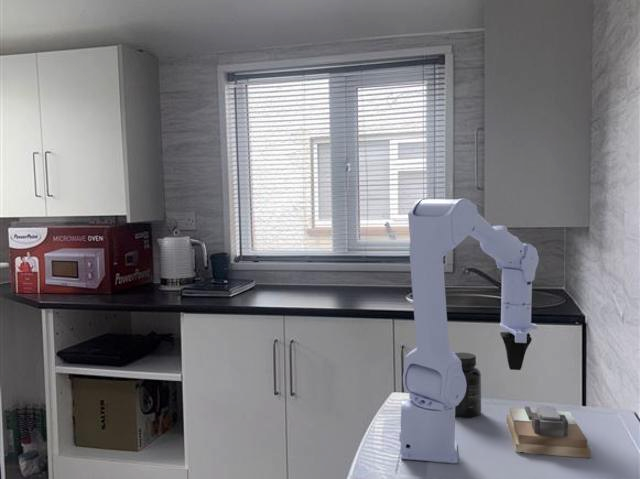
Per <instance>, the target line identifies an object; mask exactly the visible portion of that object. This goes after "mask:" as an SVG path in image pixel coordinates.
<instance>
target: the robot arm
mask: <svg viewBox="0 0 640 479" xmlns="http://www.w3.org/2000/svg"><path fill="white" fill-rule="evenodd" d="M407 216H408V218H407V220H408V230H409V248H408V249H409V252H408V253H409V265H410V266H409V267H410V277H411V290H412V291H411V292H412V301H413V303H412V304H413V317H414V330H415V331H414V332H415V342H416V344H415V345H416V347H415V348H414V349H411V351H409V353H407V354H406V355H405V357H404V362H405V363H404V364H405V365H404V369H403V370H404V371H403V374H402V384H403V387H404V389H405V391H406V392H407V393H408V394H409V399H402V400H401V404H400V406H401V407H400V430H399V437H398V438H399V443H400V459H402V460H413V461H425V462H436V463H447V464H458V462H459V458H458V457H459V456H458V445H457V444H458V443H457V441H456V417H455V406H457V405H459V403H460V402H461V401H462V399H463V398H464V396H465V393H466V387H467V384H466V378H465V375H464V373H463V371H462V365H461V360H460V359H459V358H458V357H457V355H456V354H455V353H456V352H454V351H453V350H452V349H451V347H450V346H449V344H450V342H449V328H448V314H447V299H446V298H447V296H446V285H445V284H446V283H445V282H446V281H445V268H444V266H445V265H444V258H445V255H446V254H447V253H448V252H449V251H452V250H454V249H455V248H456V247H458V245H459V244H461V243H462V242H463V241H464V240H465V239H466V238H467V237H468V236H469V237H472V238H473V239H475V240H477V241H478V242H479V246H480V249H481V250H482V252H484V253H485V254H486V255H487V256H489V257H491V258H492V259H493V260H495V264H496V266H497V269H498V270H501V293H500V294H501V297H500V298H501V301H500V303H501V306H500V308H501V309H500V323H499V328H500V329H502V330H504V331H501V332H500V333H499V335H500V336H501V338H502V341H503V344H504V347H505V352H506V358H507V364H508V367H509V370H511V371H512V370H513V371H522V367H523V364H524V360H525V359H524V358H525V355H526V352H527V350H528V348H529V346H530V345H531V342H532V340H533V339H532V337H531V334H530V331H532V330H537V329H538V324H536V323H532V298H533V297H532V296H533V293H532V292H533V281H534V280H535V278H536V270H537V267H538V265H539V261H540V260H539V259H540V256H538V255H539V254H538V249H536V248H537V247H535V246H533V245H532V244H531V243H527V242H526V243H524V242H522V241H521V240H520V238H519V237H518V236H515V235H513V234H512V233H510V232H509V231H508V227H507V226H505V225H493V226H492V225H491V224H490V223H489V222H488V221H487V220H486V219H485V218H484V217H483V216H482V215H480V214H479V211H478V206H477V204H475V203H473V202H472V201H471V200H470V199H468V198H466V197H465V198H463V197H462V198H459V199H457V198H456V199H453V198H447V199H445V198H443V199H442V198H440V199H439V198H438V199H437V198H436V199H435V198H425V197H424V198H419V199H418V200H417V201H416V202H415V203H414V204H413V205H412V208H411V209H410V211H409V212H408V213H407Z"/></svg>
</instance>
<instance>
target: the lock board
mask: <svg viewBox="0 0 640 479" xmlns="http://www.w3.org/2000/svg"><path fill="white" fill-rule="evenodd" d="M556 411H557V412H558V414H559V416H560V421H551V420H540V419H539V417H538V415H537V409H531V408H530V406H526V405H525V406H524V408H517V407H515V408H511V407H509V414H507V415H506V424H508V425H507V427H508V428H509V429H508V428H507V429H508V431H510V432H509V435H510V434H511V435H510V439H511V441H513V442H512V444H514V445H513V447H515V448H514V451H515V450H516V451H517V452H516V451H515V452H516V453H520V452H524V454H533V455H534V454H536V455H537V454H538V455H547V456H557V457H558V456H559V457H560V456H561V457H573V458H584V459H585V458H587V459H591V448H590V446H589V444H588V438H587V437H586V436H585V434H584V433H583V431H582V430H581V428H580V426H579V425H578V422H577V421H576V419H575V417H573V414H572V413H571V412H570V411H562V410H561V411H558V410H556Z"/></svg>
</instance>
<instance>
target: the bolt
mask: <svg viewBox="0 0 640 479" xmlns="http://www.w3.org/2000/svg"><path fill="white" fill-rule="evenodd" d="M536 410H537V415H538V417H539V419H540V420H551V421H560V416H559V414H558V412H557V411H558V410H557V409H556V407H555V406H546V405H536Z"/></svg>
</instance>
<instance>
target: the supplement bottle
mask: <svg viewBox="0 0 640 479" xmlns="http://www.w3.org/2000/svg"><path fill="white" fill-rule="evenodd" d="M454 353H455V354H456V355H457V357H458V358H459V359H460V360H461V365H462V371H463V373H464V375H465V378H466V384H467V387H466V393H465V396H464V398H463V399H462V401H461V402H460V403H459V405H457V406H455V416H456V417H455V418H459V417H461V418H460V419H472V418H473V417H474V418H477V417H479V416H480V415H481V413H482V372H481V371H480V369H478V367H476V366H477V356H476V355H475V354H473V353H469V352H454ZM474 418H473V419H474Z"/></svg>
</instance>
